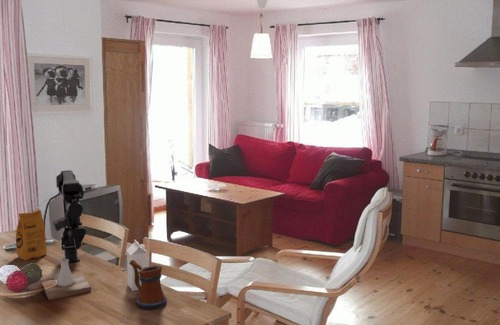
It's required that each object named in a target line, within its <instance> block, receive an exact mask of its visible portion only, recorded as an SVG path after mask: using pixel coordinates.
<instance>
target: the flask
mask: <svg viewBox="0 0 500 325" xmlns="http://www.w3.org/2000/svg"><path fill="white" fill-rule="evenodd" d="M68 261H69V260H68V259H63V258H62V259H60V260H59V262H60V271H59V274H58V276H57V278H58V279H57V278H56V279H57V285H58V286H62V287H66V286H70V285H73V284H74V283H76V281H75V279H74V277H73V273H72V271H71V269H70V266H69V263H68Z"/></svg>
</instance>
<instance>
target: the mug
mask: <svg viewBox="0 0 500 325" xmlns="http://www.w3.org/2000/svg"><path fill="white" fill-rule="evenodd" d="M129 264H130V265H132V266H133V268H134V272H135V280H134V281H135V285H136V286H137V288H138V289H139V290H138V292H139V293H137V297H136V300H135V304H136V306H138V307H139V308H140V309H143V310H156V309H157V310H158V309H160V308H163V306H165V305H166V303H167V301H168V299H167V297H166V295H165V293H164V291H163V289H162V285H161V278H162V270H163V266H161V265H151V266H150V265H149V267H145V268H142V267H141V266H140V265H139V264H137V263H136V262H135V261H134V260H131V261H130V263H129ZM137 268H138V269H139V270H140V271H139V272H138V270H137ZM139 274H140V276H139ZM139 278H140V281H141V286H140V283H139Z"/></svg>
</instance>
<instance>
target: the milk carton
mask: <svg viewBox="0 0 500 325" xmlns="http://www.w3.org/2000/svg"><path fill="white" fill-rule="evenodd" d="M149 258H150V257H149V252H148V251H147V250H146V245H144V244H143V243H141V244H140V243H139V242H138V241H137V240H136V239H134V242H133V243H132V244H131V245H130V246H129V247H128V248H127V249H126V266H127V285H128V288H130V290H131V291H132V292H135V291H139V289H138V288H137V286H136V285H135V281H134V280H135V272H134V268H133V266H132V265H130V264H129V263H130V261H131V260H134V261H135V262H136V263H137V264H139V265H140V266H141V267H142V268H145V267H149V266H150V259H149ZM137 270H138V272H139V271H140V270H139V269H138V268H137ZM139 276H140V274H139ZM139 283H140V286H141V281H140V278H139Z"/></svg>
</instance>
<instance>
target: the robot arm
mask: <svg viewBox="0 0 500 325" xmlns="http://www.w3.org/2000/svg"><path fill="white" fill-rule="evenodd" d="M55 185H56V189H57V190H58V193H59V194H60V195H61V197H62V210H63V217H59V218H57V219H56V220H54V221H52V222H51V225H53V229H54V230H55V231H56V232H59V231H60V230H62V229H63V230H62V233H61V237H60V249H61V251H64V257H63V258H62V259H68V260H69V261H68V264H70V263H76V262H80V261H81V259H80V258H79V256H78V255H79V254H78V250H80V249H81V247H83V246H82V243H83V240H84V238H85V236H86V235H87V228H85V227H84V226H83V222H82V221H81V216H82V214H83V208H84V207H83V206H82V204H81V203H80V200H82V199H84V196H85V195H84V189H83V188H84V187H83V185H82V184H81V183H80V181H79V180H77V178H76V175H75V174H74V173H73V170H71V169H69V170H67V169H66V170H61V171H60V173H59V174H58V175H56V178H55Z"/></svg>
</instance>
